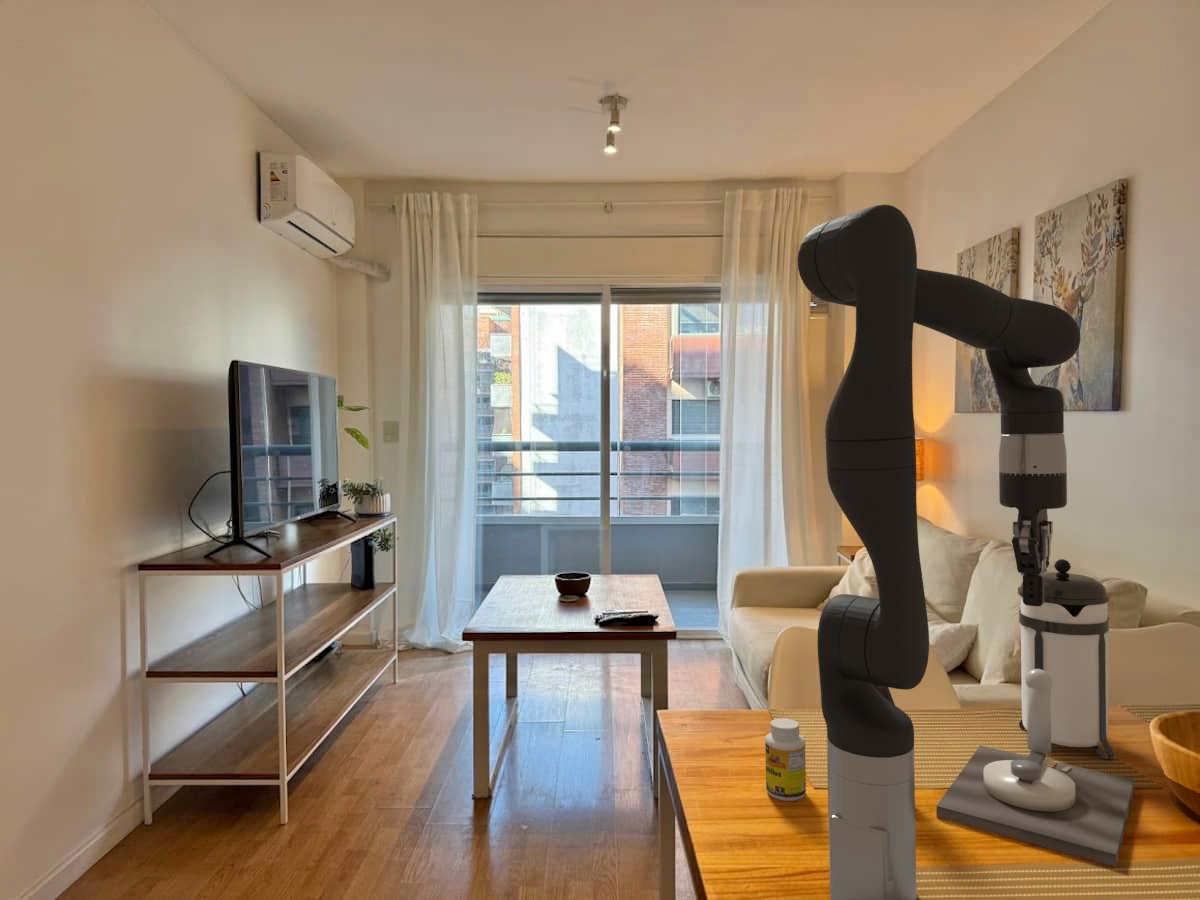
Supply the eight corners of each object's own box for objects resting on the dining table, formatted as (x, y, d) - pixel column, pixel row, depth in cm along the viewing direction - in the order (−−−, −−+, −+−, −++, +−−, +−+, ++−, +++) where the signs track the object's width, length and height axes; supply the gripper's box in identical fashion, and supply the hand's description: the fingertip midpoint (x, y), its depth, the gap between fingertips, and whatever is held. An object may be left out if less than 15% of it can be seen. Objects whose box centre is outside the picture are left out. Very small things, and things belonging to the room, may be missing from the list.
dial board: (1116, 867, 90) (1116, 852, 90) (936, 816, 103) (936, 804, 103) (1134, 789, 109) (1133, 777, 109) (980, 754, 122) (980, 744, 121)
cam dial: (1068, 820, 98) (1067, 705, 98) (975, 796, 105) (973, 689, 104) (1085, 774, 110) (1084, 673, 110) (1000, 756, 117) (999, 660, 117)
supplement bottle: (759, 788, 112) (757, 718, 112) (792, 782, 114) (791, 713, 114) (778, 805, 107) (777, 733, 107) (813, 799, 109) (812, 727, 108)
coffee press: (1146, 751, 121) (1145, 561, 120) (1075, 770, 115) (1073, 571, 115) (1046, 714, 137) (1044, 547, 137) (979, 729, 132) (977, 554, 131)
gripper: (1057, 473, 91) (1059, 619, 91) (1074, 467, 101) (1075, 598, 101) (987, 472, 95) (989, 611, 96) (1010, 466, 106) (1011, 592, 106)
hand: (1033, 604), depth 99 cm, fingers closed
